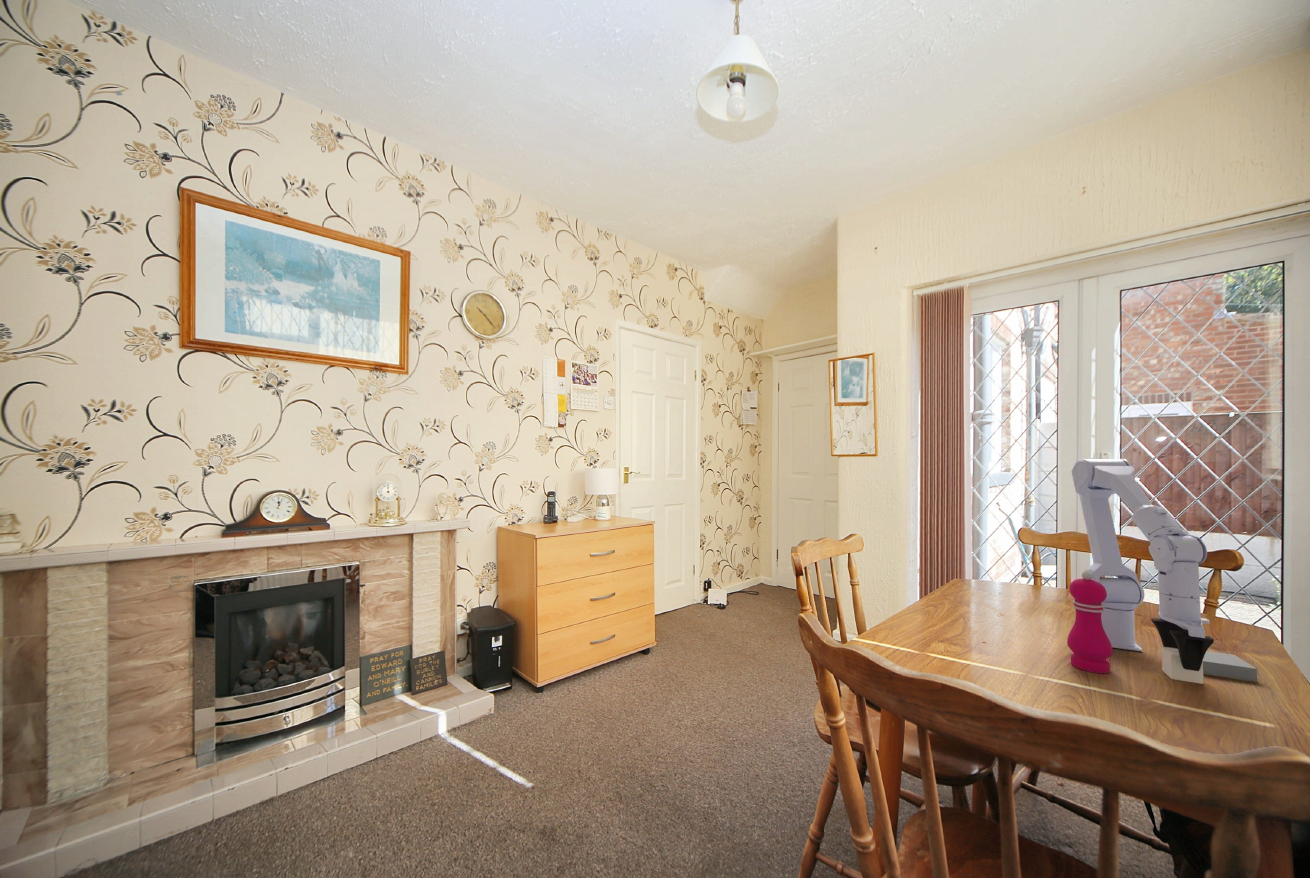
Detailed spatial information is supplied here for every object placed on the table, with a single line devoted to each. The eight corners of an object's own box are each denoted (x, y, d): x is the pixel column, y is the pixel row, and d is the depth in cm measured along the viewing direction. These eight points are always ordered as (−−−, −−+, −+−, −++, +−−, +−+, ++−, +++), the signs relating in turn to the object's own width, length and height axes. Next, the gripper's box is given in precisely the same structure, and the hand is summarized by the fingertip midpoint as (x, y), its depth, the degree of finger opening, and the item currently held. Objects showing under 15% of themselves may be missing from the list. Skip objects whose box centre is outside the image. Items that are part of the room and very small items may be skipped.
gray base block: (1200, 675, 101) (1199, 660, 101) (1182, 661, 108) (1181, 647, 108) (1257, 684, 97) (1256, 668, 97) (1235, 669, 104) (1234, 654, 104)
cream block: (1171, 679, 98) (1170, 654, 99) (1162, 670, 102) (1161, 646, 103) (1203, 684, 96) (1202, 658, 96) (1192, 675, 100) (1191, 650, 100)
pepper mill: (1122, 676, 100) (1119, 576, 100) (1081, 673, 101) (1078, 574, 102) (1098, 661, 107) (1095, 568, 107) (1060, 659, 108) (1057, 567, 109)
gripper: (1226, 606, 92) (1230, 680, 91) (1189, 589, 104) (1192, 654, 104) (1174, 601, 95) (1177, 673, 94) (1144, 584, 108) (1147, 647, 107)
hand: (1182, 662), depth 99 cm, fingers open, 7 cm apart
